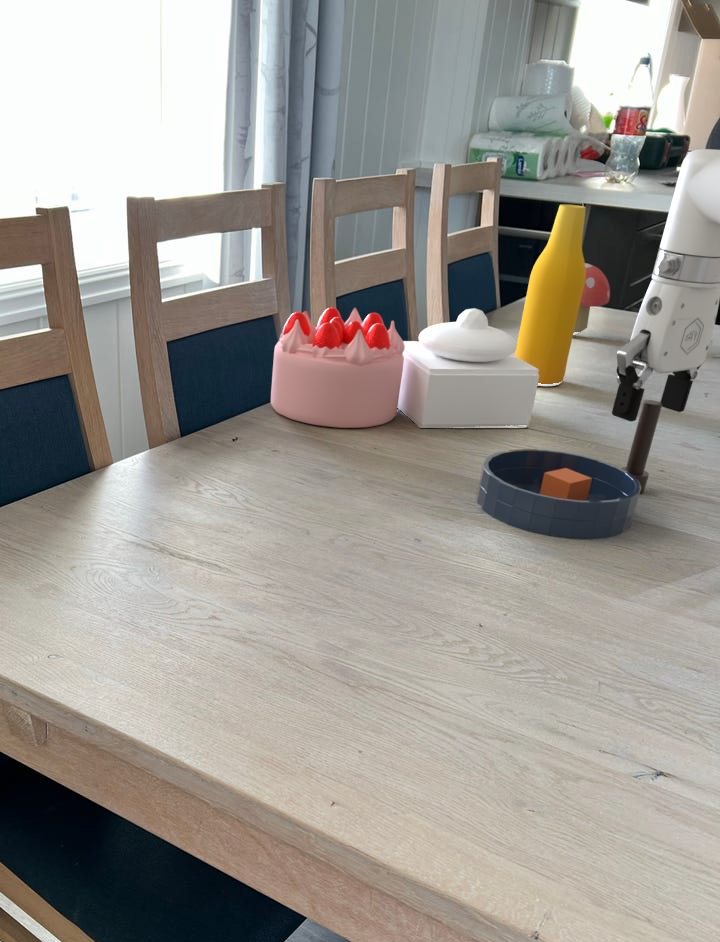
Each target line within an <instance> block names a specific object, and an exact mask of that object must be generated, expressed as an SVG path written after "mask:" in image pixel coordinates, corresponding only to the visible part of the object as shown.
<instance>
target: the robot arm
mask: <svg viewBox="0 0 720 942" xmlns="http://www.w3.org/2000/svg"><path fill="white" fill-rule="evenodd" d="M655 259H656V260H655V263H654V266H653V271H652V274H651V281H650V283H649V285H648V288H647V290H646V293H645V295H644V296H643V299H642V303H641V306H640V308H639V311H638V313H637V317H636V320H635V322H634V326H633V329H632V333H631V336H630V341H628V342H627V343H626V344H624V345H623V346H622V347H621V348H620V349H619V348H618V351H617V352H616V363H617V367H616V374H617V380H616V381H617V383H618V387H617V391H616V395H615V398H614V402H613V407H612V410H611V414H612V416H614V417H616V418H619V419H622V420H625V421H628V422H635V421H636V420H637V418H638V415H639V411H640V406H641V404H642V401H643V397H644V393H645V388H643V386H644V384H645V383H646V381H647V380H648V378H649V377H650V376H651V375H652V374H653V372H656V373H657V374H668V375H667V379H666V380H665V385H664V388H663V392H662V395H661V399H660V402H661V403H662V408H665V409H667V410H671V411H674V412H677V413H682V412H684V411H685V409H686V405H687V402H688V399H689V396H690V392H691V390H692V386H693V383H694V382H693V381H695V380H696V379H697V377H698V374H699V371H698V370H699V369H700V368H701V367H702V366H703V364H704V363H705V362H706V358H707V356H708V352H709V351H710V349H711V348H712V345H713V340H712V337H713V333H714V328H715V325H716V321H717V316H718V310H719V306H720V149H712V148H697V149H694V150H691V151H690V152H688V153H687V154H686V155H685V157H684V158H683V160H682V163H681V166H680V169H679V173H678V177H677V180H676V184H675V188H674V192H673V196H672V199H671V203H670V207H669V210H668V214H667V218H666V223H665V226H664V229H663V233H662V237H661V241H660V244H659V248H658V252H657V256H656V258H655ZM636 370H640V372H639V374H638V373H637V371H636ZM671 373H672V374H671Z"/></svg>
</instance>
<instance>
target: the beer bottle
mask: <svg viewBox="0 0 720 942" xmlns="http://www.w3.org/2000/svg"><path fill="white" fill-rule="evenodd" d="M585 219H586V206H583V205H578V204H577V205H576V204H560V205H559V207H558V210H557V213H556V216H555V219H554V223H553V226H552V228H551V232H550V235H549V239H548V240H547V241H548V242H547V244H546V245H545V247H544V249H543V251H542V252H541V254H540V255H539V256H538V258H537V259H536V261H535V263H534V265H533V267H532V270H531V273H530V275H529V281H528V286H527V291H526V296H525V300H524V307H523V311H522V316H521V322H520V327H519V332H518V336H517V342H516V344H517V348H516V350H515V352H514V356H516V357H517V358H519V359H521V360H523V361H525V362H526V363H528V364H530V365H532V366H534V367H535V368H537V369H539V372H538V375H540V376H539V381H538V383H541V384H553V383H559V382H561V381H562V382H563V381H564V378H565V375H566V370H567V366H568V365H567V364H568V361H569V360H568V359H569V354H570V350H571V345H572V341H573V337H574V336H573V333H574V328H575V324H576V320H577V315H578V311H579V306H580V302H581V297H582V293H583V289H584V285H585V277H586V269H585V263H586V261H585V258H584V253H583V237H584V236H583V235H584V227H585V226H584V225H585Z"/></svg>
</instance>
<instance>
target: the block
mask: <svg viewBox="0 0 720 942" xmlns="http://www.w3.org/2000/svg"><path fill="white" fill-rule="evenodd" d="M591 481H592V478H590V477H588V476H585V475H583V474H580V473H578V472H575V471H572V470H570V469H567V468H564V469H559V470H554V471H550V472H545V473H544V477H543V482H542V486H541V491H540V494H542V495H546V496H551V497H556V498H562V499H571V500H579V501H587V497H588V493H589V489H590V485H591Z"/></svg>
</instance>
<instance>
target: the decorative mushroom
mask: <svg viewBox="0 0 720 942" xmlns="http://www.w3.org/2000/svg"><path fill="white" fill-rule="evenodd" d="M585 269H586V277H585V285H584V289H583V293H582V297H581V302H580V306H579V311H578V315H577V320H576V324H575V328H574V332H580V333H582V332H583V331H585V330H587V328H588V324H589V318H590V317H589V316H590V310H591V307H603V306H605V305H606V304H608V303H609V302H610V298H611V288H610V283H609V281H608V278H607V276H606V274H604V273H603V271H602V270H601V269H600V268H598V267H597V266H595V265H593V264H590V263H586V262H585ZM581 331H582V332H581Z"/></svg>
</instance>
